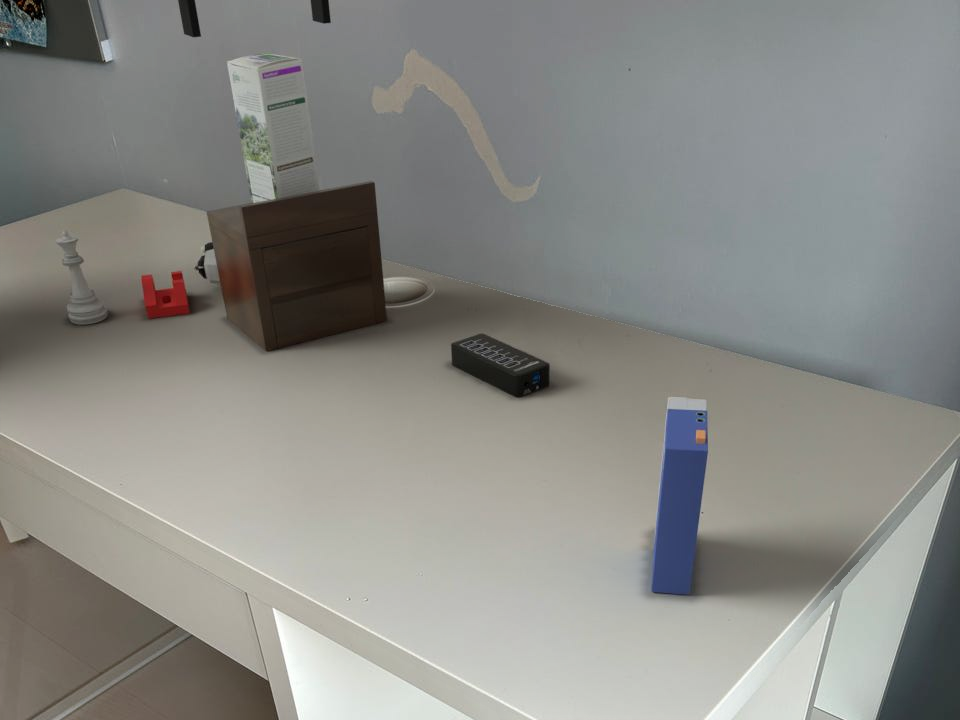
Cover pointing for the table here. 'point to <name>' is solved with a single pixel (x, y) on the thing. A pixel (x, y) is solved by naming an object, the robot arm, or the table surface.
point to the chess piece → (80, 287)
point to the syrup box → (274, 125)
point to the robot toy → (208, 264)
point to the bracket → (165, 297)
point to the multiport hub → (500, 365)
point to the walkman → (680, 494)
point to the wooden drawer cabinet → (301, 264)
